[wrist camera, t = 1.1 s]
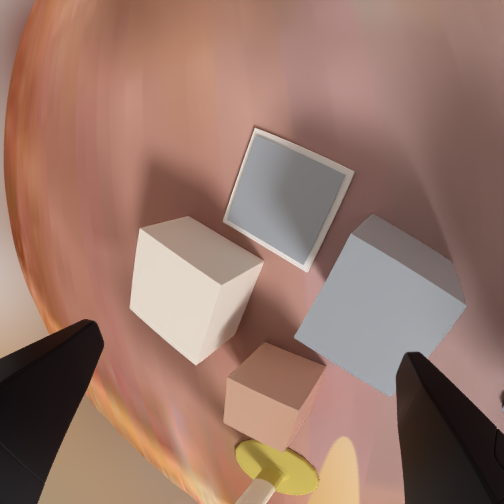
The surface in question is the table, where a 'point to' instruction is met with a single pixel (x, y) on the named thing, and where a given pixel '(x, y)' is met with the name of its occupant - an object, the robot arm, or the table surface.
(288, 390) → the terracotta block
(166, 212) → the table surface
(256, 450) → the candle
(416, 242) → the grey block
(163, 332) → the cream block
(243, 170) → the tile
